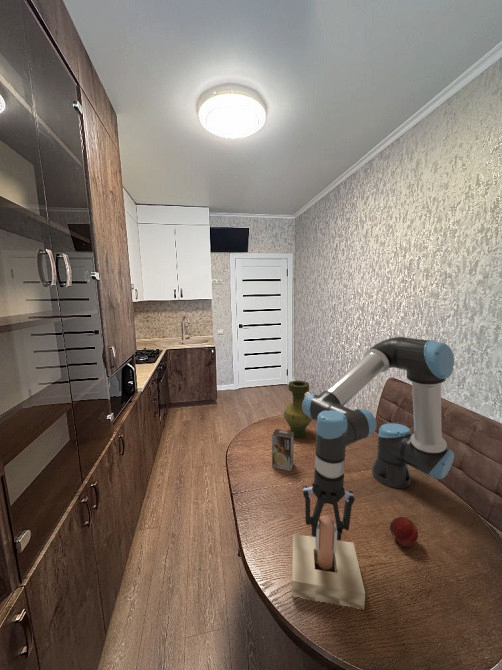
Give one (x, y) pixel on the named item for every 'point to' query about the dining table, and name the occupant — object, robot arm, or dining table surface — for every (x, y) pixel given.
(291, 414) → the vase
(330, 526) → the peg
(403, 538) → the apple
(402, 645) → the dining table surface
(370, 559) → the dining table surface
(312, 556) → the socket block
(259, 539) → the dining table surface
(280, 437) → the coffee box
